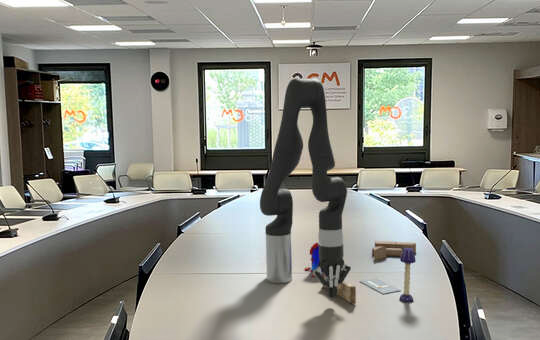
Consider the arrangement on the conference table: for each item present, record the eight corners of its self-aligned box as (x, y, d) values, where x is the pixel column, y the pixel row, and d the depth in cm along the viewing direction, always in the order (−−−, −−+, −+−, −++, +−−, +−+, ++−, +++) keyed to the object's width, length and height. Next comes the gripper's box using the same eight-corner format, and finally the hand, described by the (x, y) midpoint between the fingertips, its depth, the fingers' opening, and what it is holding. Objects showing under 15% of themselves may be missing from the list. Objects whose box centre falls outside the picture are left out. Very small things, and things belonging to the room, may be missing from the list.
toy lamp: (412, 297, 154) (412, 246, 153) (417, 302, 150) (417, 250, 148) (397, 297, 154) (397, 247, 153) (402, 303, 150) (402, 250, 148)
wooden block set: (373, 238, 211) (415, 239, 207) (373, 250, 212) (415, 252, 207) (371, 248, 195) (417, 249, 190) (371, 261, 195) (417, 263, 191)
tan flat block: (321, 286, 167) (321, 269, 166) (325, 285, 167) (325, 268, 167) (331, 292, 161) (331, 274, 160) (335, 291, 161) (335, 274, 161)
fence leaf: (331, 291, 160) (331, 276, 160) (335, 290, 161) (335, 275, 160) (352, 304, 149) (352, 287, 148) (356, 303, 149) (356, 287, 149)
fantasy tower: (312, 278, 176) (312, 246, 175) (302, 269, 187) (301, 239, 186) (342, 275, 179) (342, 243, 178) (330, 266, 190) (329, 236, 189)
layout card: (359, 281, 171) (359, 280, 171) (376, 278, 173) (376, 277, 173) (383, 294, 158) (383, 293, 158) (400, 290, 160) (400, 289, 160)
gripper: (343, 237, 153) (344, 290, 155) (306, 242, 148) (307, 297, 150) (356, 242, 146) (357, 298, 148) (317, 248, 141) (318, 305, 143)
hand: (332, 297), depth 149 cm, fingers closed
